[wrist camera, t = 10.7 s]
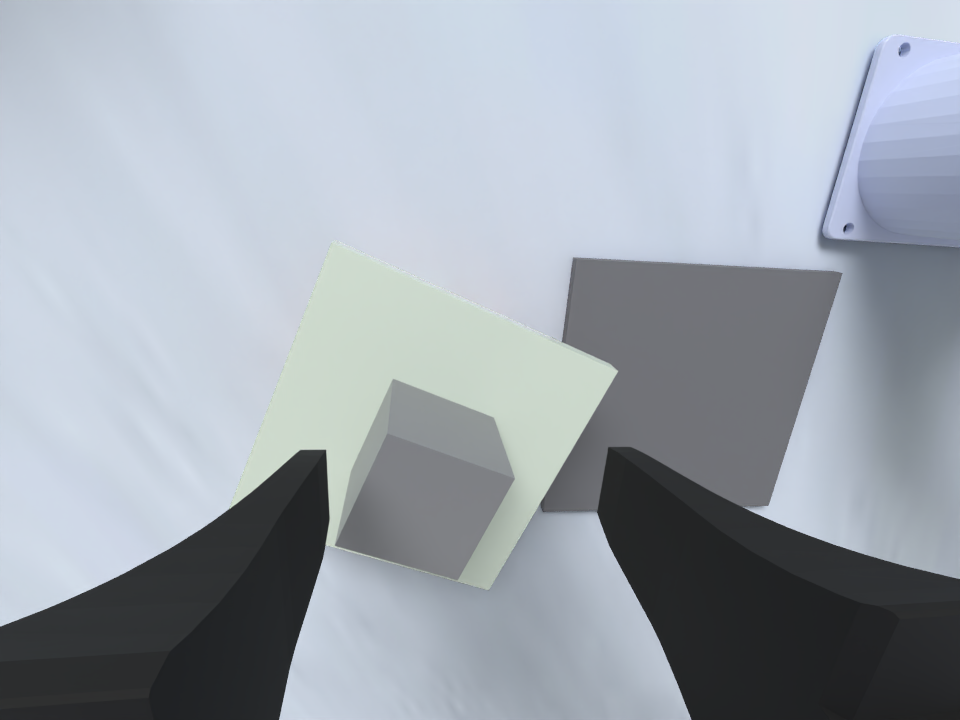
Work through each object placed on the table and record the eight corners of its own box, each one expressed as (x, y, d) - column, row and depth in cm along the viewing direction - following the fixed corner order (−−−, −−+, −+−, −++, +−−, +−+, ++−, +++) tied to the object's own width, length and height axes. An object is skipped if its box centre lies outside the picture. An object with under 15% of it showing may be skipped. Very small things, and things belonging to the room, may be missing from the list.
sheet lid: (610, 363, 19) (672, 420, 14) (486, 576, 21) (505, 679, 17) (335, 239, 16) (304, 260, 11) (233, 504, 18) (176, 604, 14)
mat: (833, 271, 23) (842, 273, 22) (762, 500, 27) (768, 505, 27) (573, 257, 21) (576, 259, 21) (540, 505, 25) (543, 511, 25)
